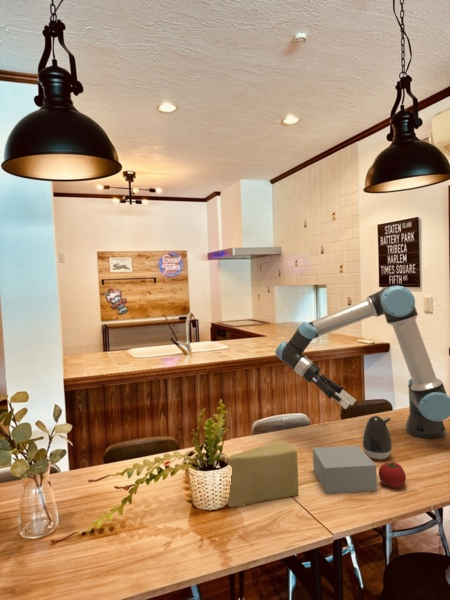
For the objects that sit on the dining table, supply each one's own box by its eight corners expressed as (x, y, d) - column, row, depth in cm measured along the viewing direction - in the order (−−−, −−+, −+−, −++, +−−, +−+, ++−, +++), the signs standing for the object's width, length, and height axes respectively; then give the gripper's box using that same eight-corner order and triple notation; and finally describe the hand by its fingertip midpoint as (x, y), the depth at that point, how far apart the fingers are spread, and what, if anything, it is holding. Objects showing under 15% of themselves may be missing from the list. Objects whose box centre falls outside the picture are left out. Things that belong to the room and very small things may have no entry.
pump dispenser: (397, 462, 141) (396, 420, 141) (368, 463, 141) (366, 421, 141) (386, 450, 151) (385, 411, 151) (359, 451, 151) (357, 412, 151)
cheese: (235, 515, 113) (232, 463, 112) (222, 499, 121) (219, 451, 121) (300, 496, 121) (298, 448, 121) (283, 482, 130) (281, 438, 130)
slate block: (358, 467, 138) (357, 445, 138) (377, 490, 122) (376, 465, 122) (313, 470, 138) (312, 447, 138) (326, 493, 122) (324, 468, 122)
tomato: (406, 493, 120) (405, 469, 120) (378, 488, 123) (377, 465, 123) (406, 481, 127) (405, 459, 127) (379, 477, 130) (378, 455, 130)
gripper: (310, 376, 174) (351, 408, 165) (293, 378, 152) (339, 416, 143) (320, 362, 173) (361, 394, 163) (304, 363, 151) (351, 399, 142)
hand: (351, 404), depth 153 cm, fingers open, 13 cm apart
